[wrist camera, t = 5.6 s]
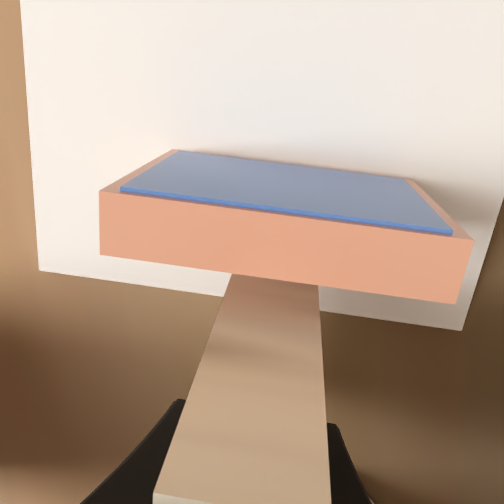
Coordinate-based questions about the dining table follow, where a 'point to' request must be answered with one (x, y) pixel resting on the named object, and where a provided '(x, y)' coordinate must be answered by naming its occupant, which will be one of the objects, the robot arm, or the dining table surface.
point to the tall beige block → (254, 404)
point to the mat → (264, 114)
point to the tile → (286, 225)
